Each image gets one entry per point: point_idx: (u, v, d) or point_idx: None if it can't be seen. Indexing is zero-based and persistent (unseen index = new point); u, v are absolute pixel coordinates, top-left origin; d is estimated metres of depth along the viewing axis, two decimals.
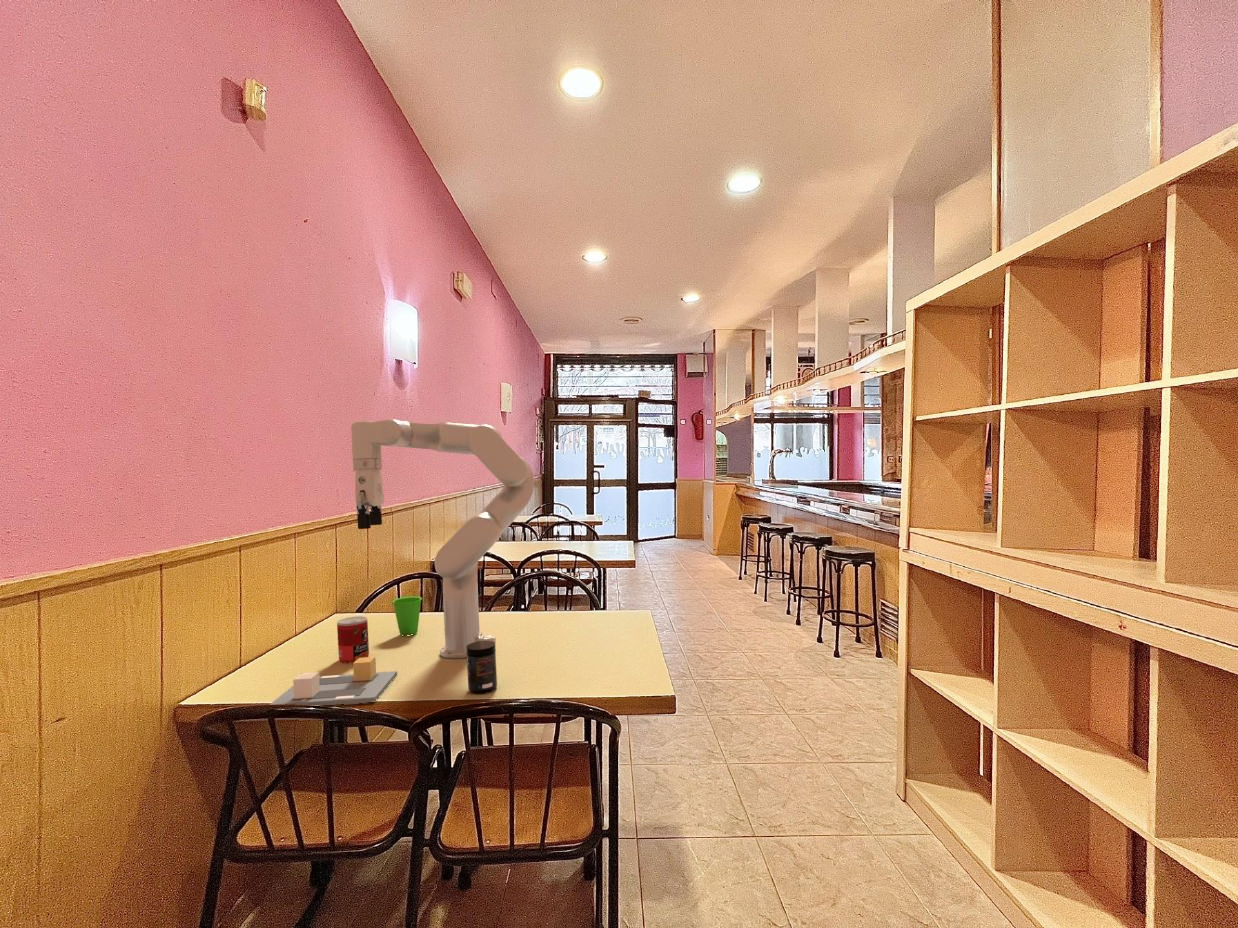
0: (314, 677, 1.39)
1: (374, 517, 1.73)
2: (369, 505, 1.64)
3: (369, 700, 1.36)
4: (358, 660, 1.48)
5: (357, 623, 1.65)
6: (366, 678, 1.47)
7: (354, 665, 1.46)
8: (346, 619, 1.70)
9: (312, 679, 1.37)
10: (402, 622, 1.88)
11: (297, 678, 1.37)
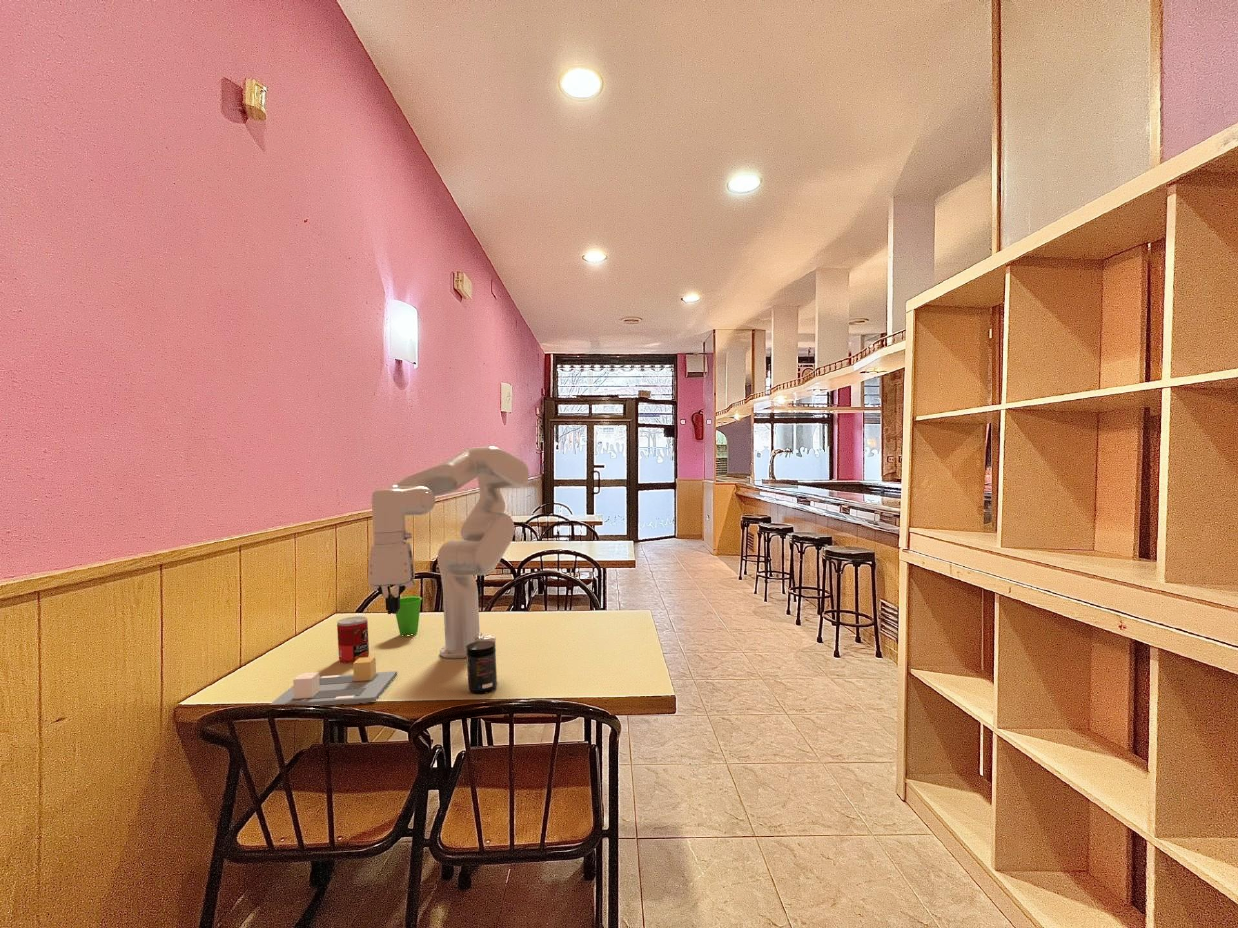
0: (314, 677, 1.39)
1: None
2: None
3: (369, 700, 1.36)
4: (358, 660, 1.48)
5: (357, 623, 1.65)
6: (366, 678, 1.47)
7: (354, 665, 1.46)
8: (346, 619, 1.70)
9: (312, 679, 1.37)
10: (402, 622, 1.88)
11: (297, 678, 1.37)
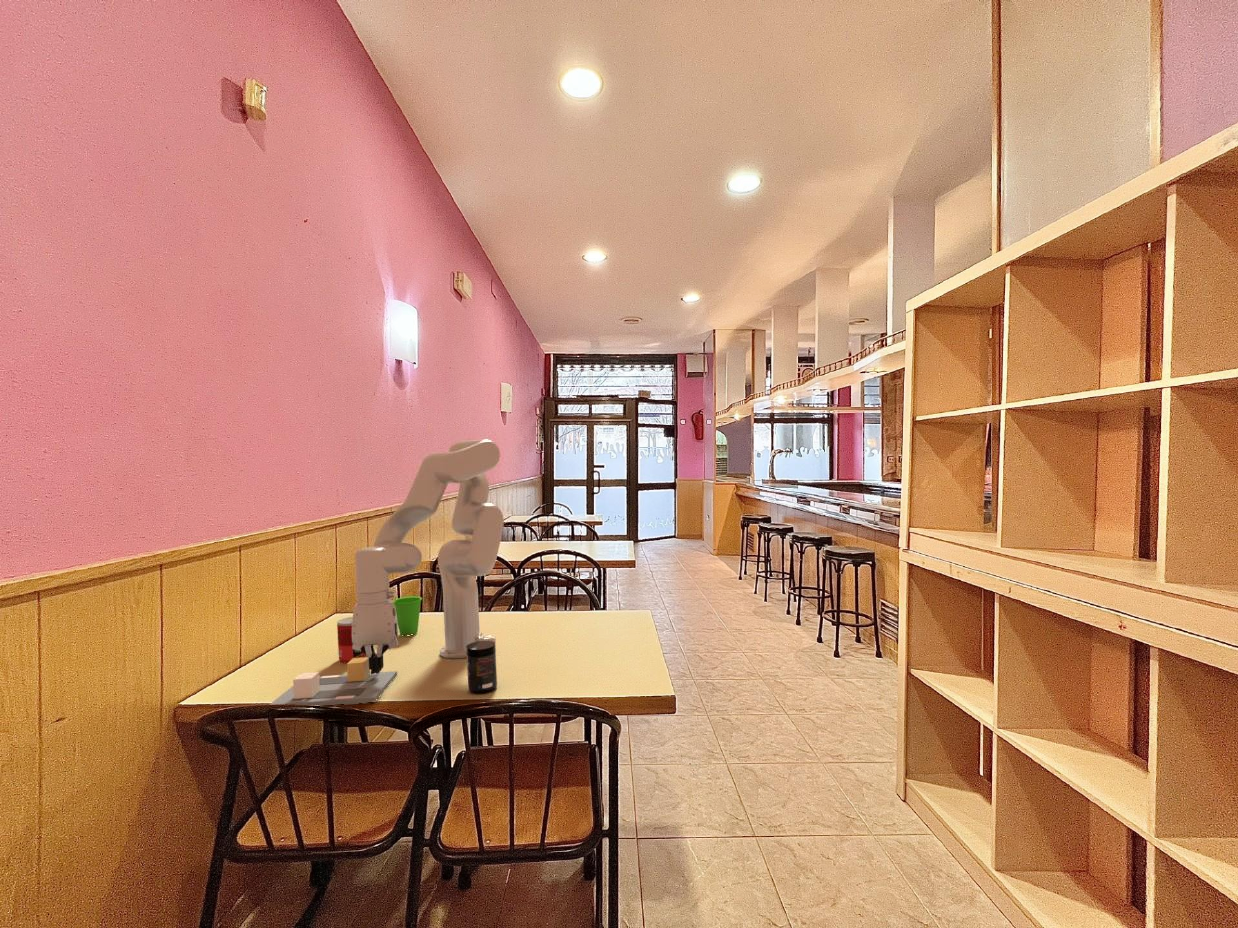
0: (314, 677, 1.39)
1: None
2: None
3: (369, 700, 1.36)
4: (352, 660, 1.48)
5: None
6: (360, 678, 1.47)
7: (348, 665, 1.46)
8: (346, 619, 1.70)
9: (312, 679, 1.37)
10: (402, 622, 1.88)
11: (297, 678, 1.37)
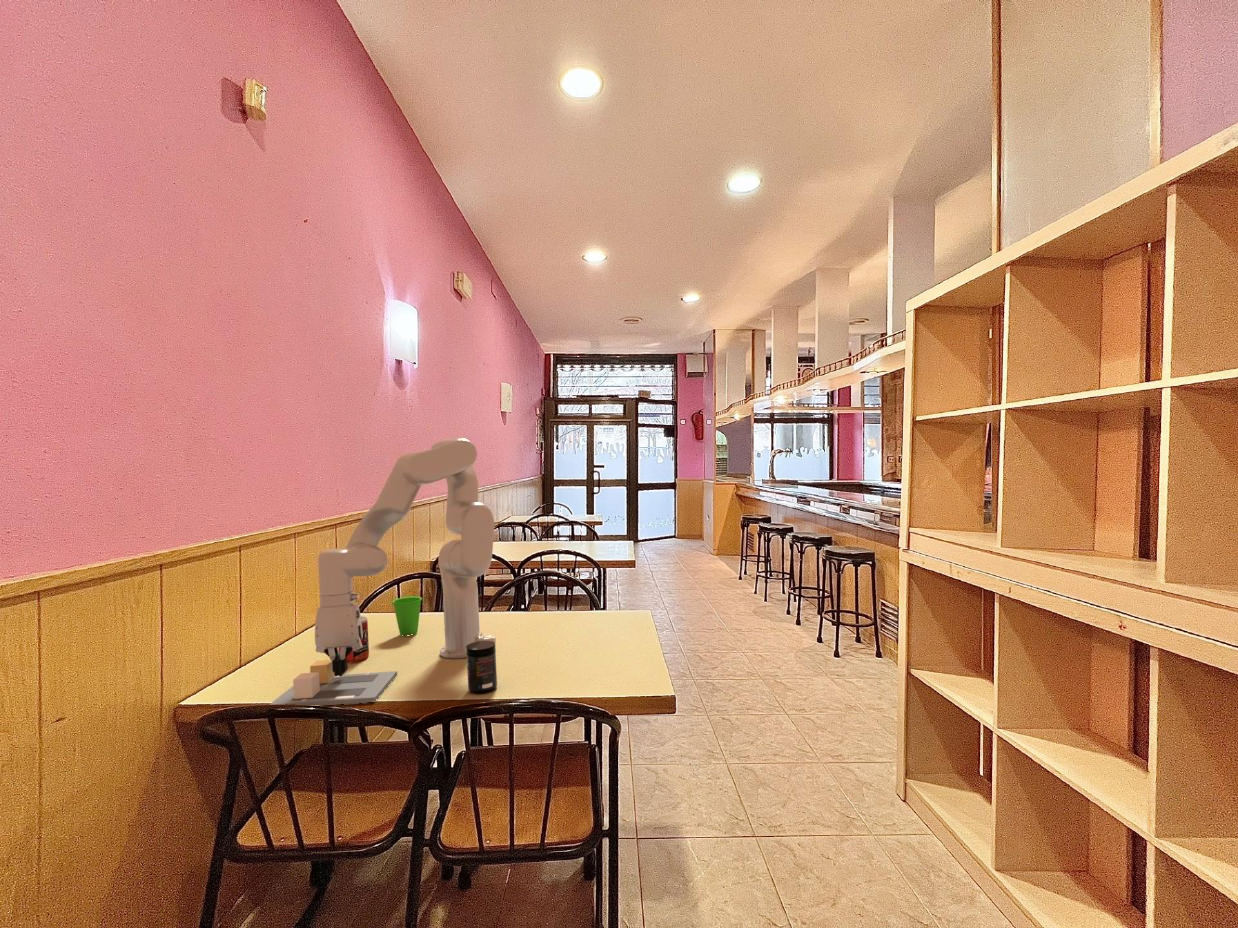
0: (314, 677, 1.39)
1: None
2: None
3: (369, 700, 1.36)
4: (316, 663, 1.48)
5: None
6: (323, 681, 1.46)
7: (311, 668, 1.46)
8: None
9: (312, 679, 1.37)
10: (402, 622, 1.88)
11: (297, 678, 1.37)
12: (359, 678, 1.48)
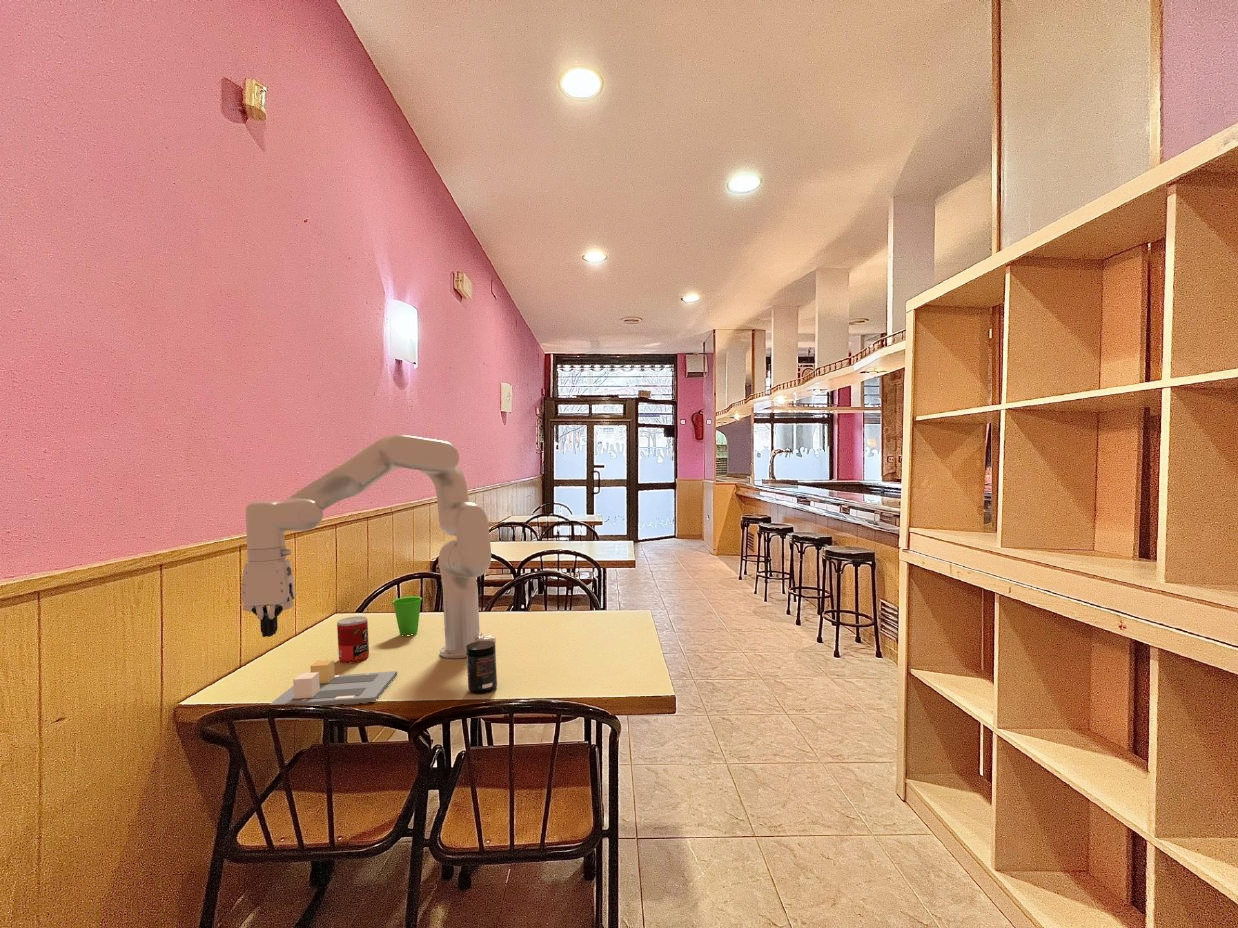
0: (314, 677, 1.39)
1: None
2: None
3: (369, 700, 1.36)
4: (316, 663, 1.48)
5: (357, 623, 1.65)
6: (323, 681, 1.46)
7: (311, 668, 1.46)
8: (346, 619, 1.70)
9: (312, 679, 1.37)
10: (402, 622, 1.88)
11: (297, 678, 1.37)
12: (359, 678, 1.48)
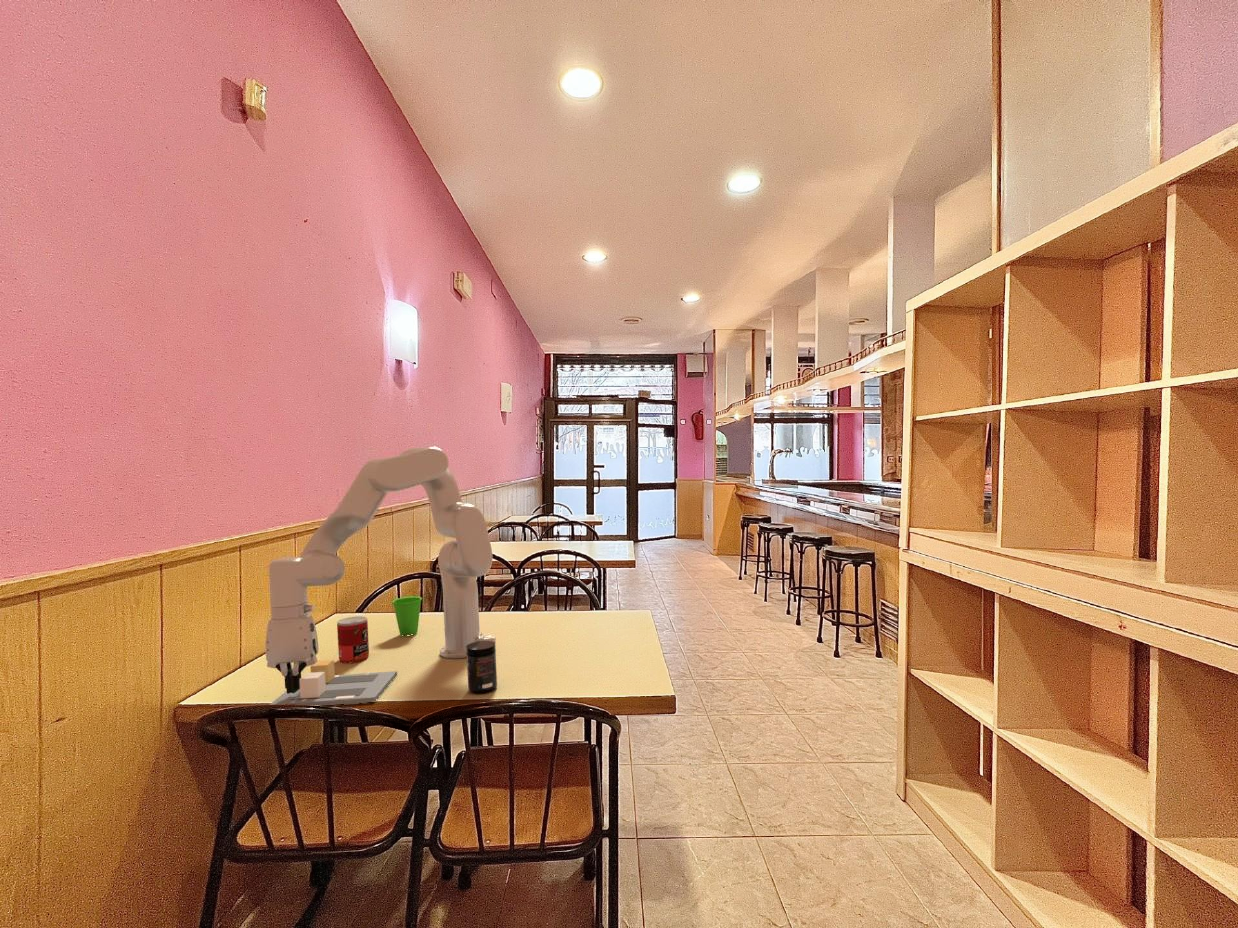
0: (320, 677, 1.39)
1: None
2: None
3: (369, 700, 1.36)
4: (316, 663, 1.48)
5: (357, 623, 1.65)
6: None
7: (311, 668, 1.46)
8: (346, 619, 1.70)
9: (318, 678, 1.37)
10: (402, 622, 1.88)
11: (303, 678, 1.37)
12: (359, 678, 1.48)
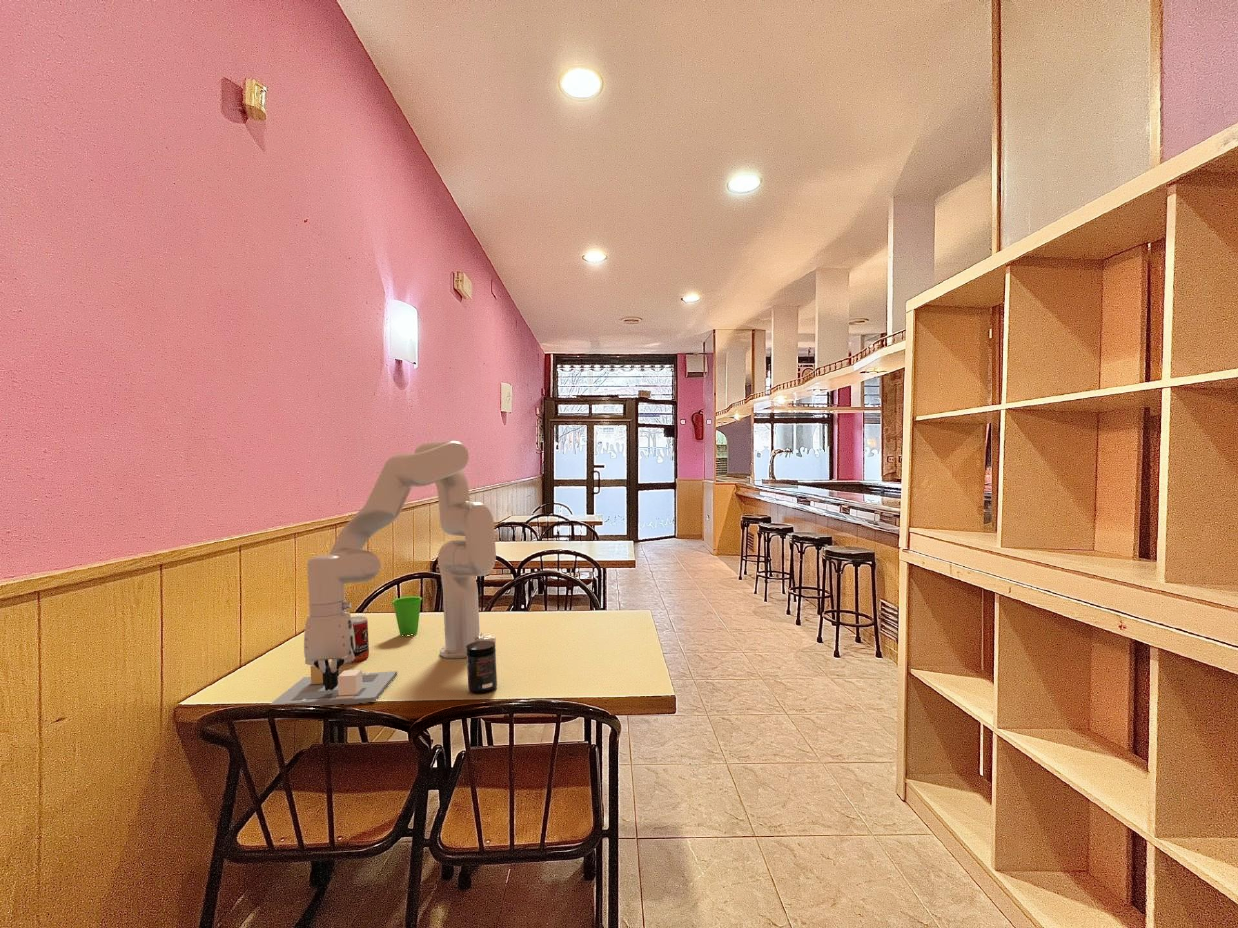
0: (358, 674, 1.39)
1: None
2: None
3: (369, 700, 1.36)
4: None
5: (357, 623, 1.65)
6: None
7: (311, 668, 1.46)
8: None
9: (356, 676, 1.38)
10: (402, 622, 1.88)
11: (341, 675, 1.38)
12: None
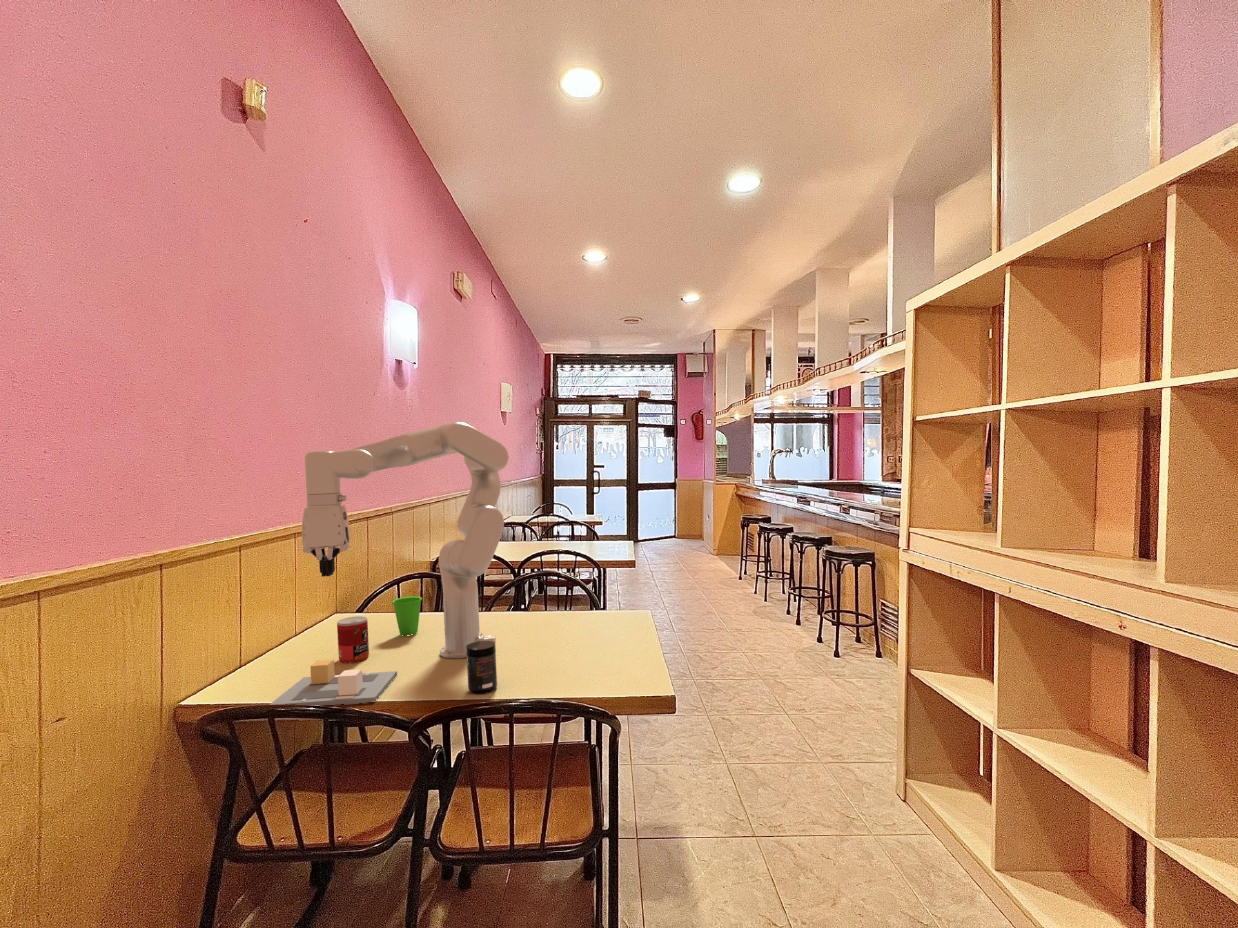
0: (358, 674, 1.39)
1: None
2: None
3: (369, 700, 1.36)
4: (316, 663, 1.48)
5: (357, 623, 1.65)
6: (323, 681, 1.46)
7: (311, 668, 1.46)
8: (346, 619, 1.70)
9: (356, 676, 1.38)
10: (402, 622, 1.88)
11: (341, 675, 1.38)
12: None
